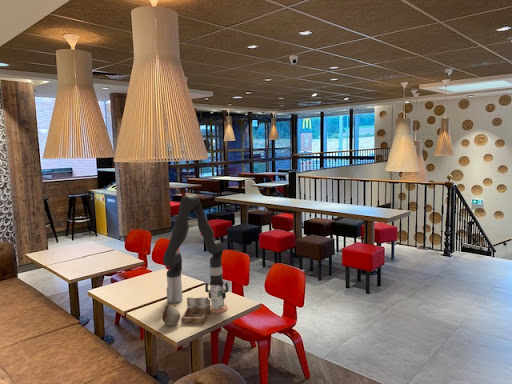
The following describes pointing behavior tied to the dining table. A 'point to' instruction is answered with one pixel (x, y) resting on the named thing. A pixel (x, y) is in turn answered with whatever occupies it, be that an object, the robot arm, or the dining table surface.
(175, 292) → the robot arm
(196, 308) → the frame
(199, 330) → the dining table surface
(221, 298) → the syrup box
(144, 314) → the dining table surface
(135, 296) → the dining table surface
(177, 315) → the fruit
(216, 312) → the saucer
